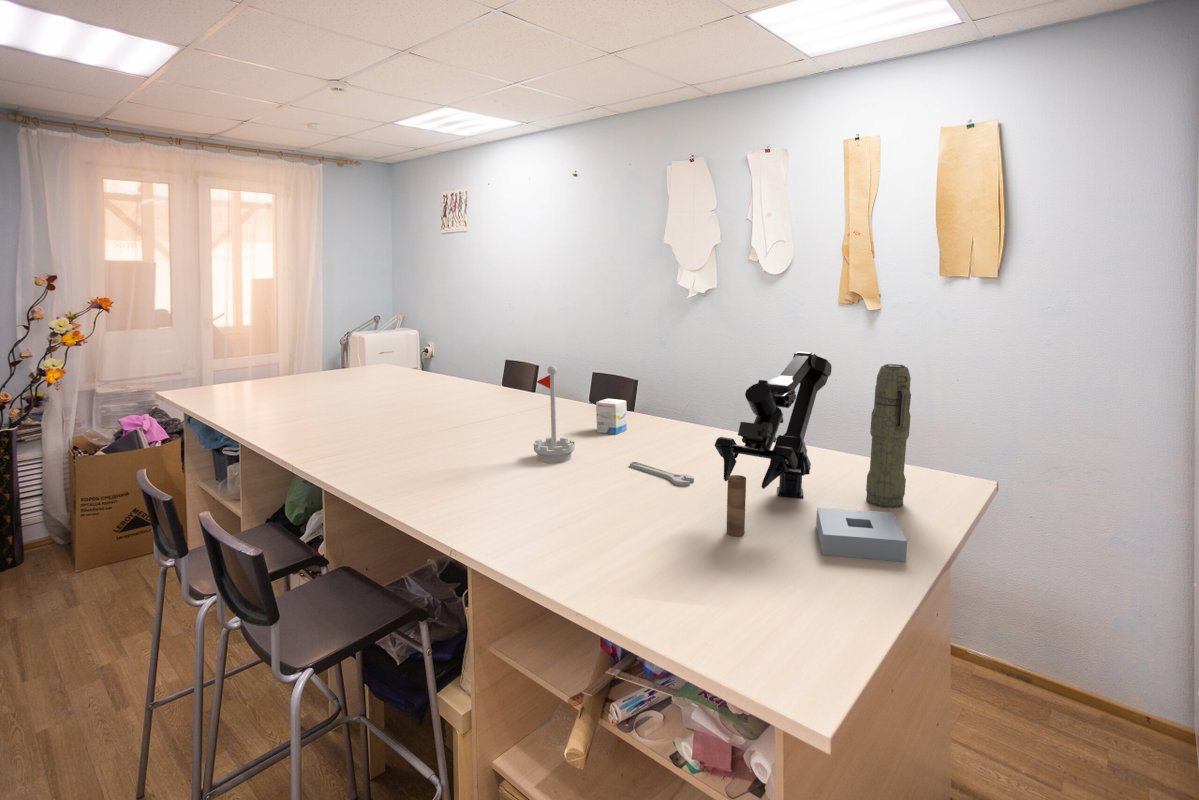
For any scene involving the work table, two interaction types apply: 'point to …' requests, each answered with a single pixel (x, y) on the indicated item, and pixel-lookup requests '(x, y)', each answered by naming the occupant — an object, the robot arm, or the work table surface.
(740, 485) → the pin
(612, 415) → the ink box
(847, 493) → the work table surface
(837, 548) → the hole block
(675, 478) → the adjustable wrench
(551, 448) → the flag stand
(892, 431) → the thermos
